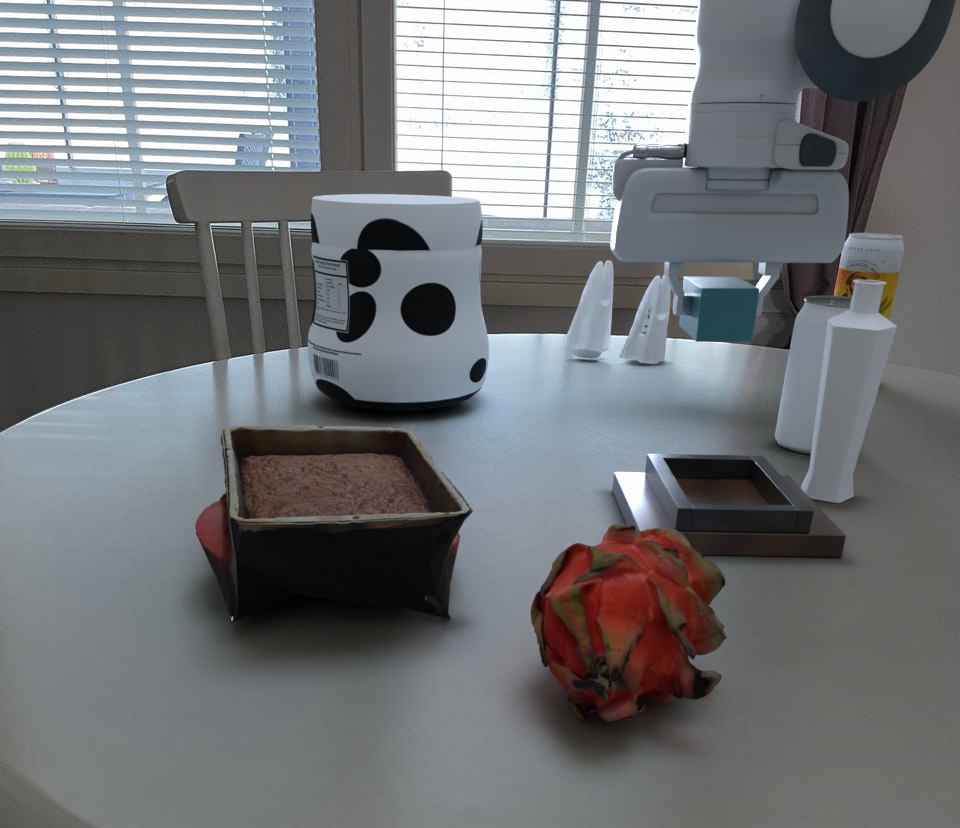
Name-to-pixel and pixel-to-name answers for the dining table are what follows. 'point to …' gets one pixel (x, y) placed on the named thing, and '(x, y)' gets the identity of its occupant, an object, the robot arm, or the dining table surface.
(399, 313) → the milk container
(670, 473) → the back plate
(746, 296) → the teal rectangular block
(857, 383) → the perfume bottle
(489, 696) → the dining table surface
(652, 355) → the shaker set
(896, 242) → the beer can
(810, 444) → the can
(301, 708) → the dining table surface
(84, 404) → the dining table surface
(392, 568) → the baking dish
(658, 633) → the dragon fruit
